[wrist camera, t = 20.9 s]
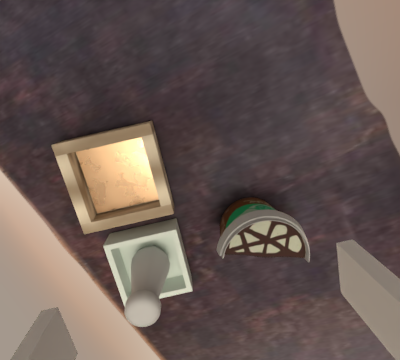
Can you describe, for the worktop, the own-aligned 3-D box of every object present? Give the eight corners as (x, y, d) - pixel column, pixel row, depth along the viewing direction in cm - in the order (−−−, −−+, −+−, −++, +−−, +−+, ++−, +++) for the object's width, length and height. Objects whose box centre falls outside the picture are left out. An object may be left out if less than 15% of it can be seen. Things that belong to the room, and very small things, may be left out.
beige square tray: (61, 141, 41) (51, 145, 38) (152, 120, 41) (149, 122, 38) (91, 223, 45) (84, 234, 42) (174, 204, 45) (173, 213, 42)
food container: (292, 192, 46) (322, 218, 36) (286, 228, 47) (313, 262, 38) (214, 187, 45) (223, 213, 35) (210, 224, 46) (218, 258, 37)
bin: (109, 233, 46) (103, 246, 42) (176, 218, 46) (176, 229, 42) (129, 289, 49) (124, 306, 45) (191, 275, 49) (192, 291, 45)
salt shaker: (169, 239, 46) (165, 292, 33) (171, 270, 48) (169, 333, 35) (131, 241, 46) (113, 297, 33) (135, 273, 47) (119, 338, 35)
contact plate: (77, 151, 41) (75, 152, 41) (142, 136, 41) (142, 136, 41) (98, 211, 44) (97, 213, 43) (159, 197, 44) (159, 199, 43)
